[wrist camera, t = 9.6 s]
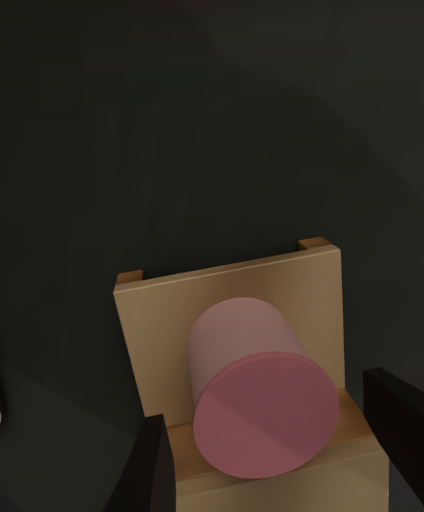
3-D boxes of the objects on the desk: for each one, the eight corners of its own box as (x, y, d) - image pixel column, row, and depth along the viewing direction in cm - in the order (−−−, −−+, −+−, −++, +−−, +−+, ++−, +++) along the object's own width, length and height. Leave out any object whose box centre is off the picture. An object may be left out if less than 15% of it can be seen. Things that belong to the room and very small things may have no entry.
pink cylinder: (296, 378, 18) (341, 460, 14) (193, 401, 18) (205, 493, 13) (288, 283, 16) (337, 341, 12) (174, 305, 16) (180, 374, 12)
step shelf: (320, 236, 18) (393, 282, 13) (329, 419, 22) (388, 517, 16) (117, 273, 18) (98, 340, 12) (163, 457, 21) (165, 574, 16)
